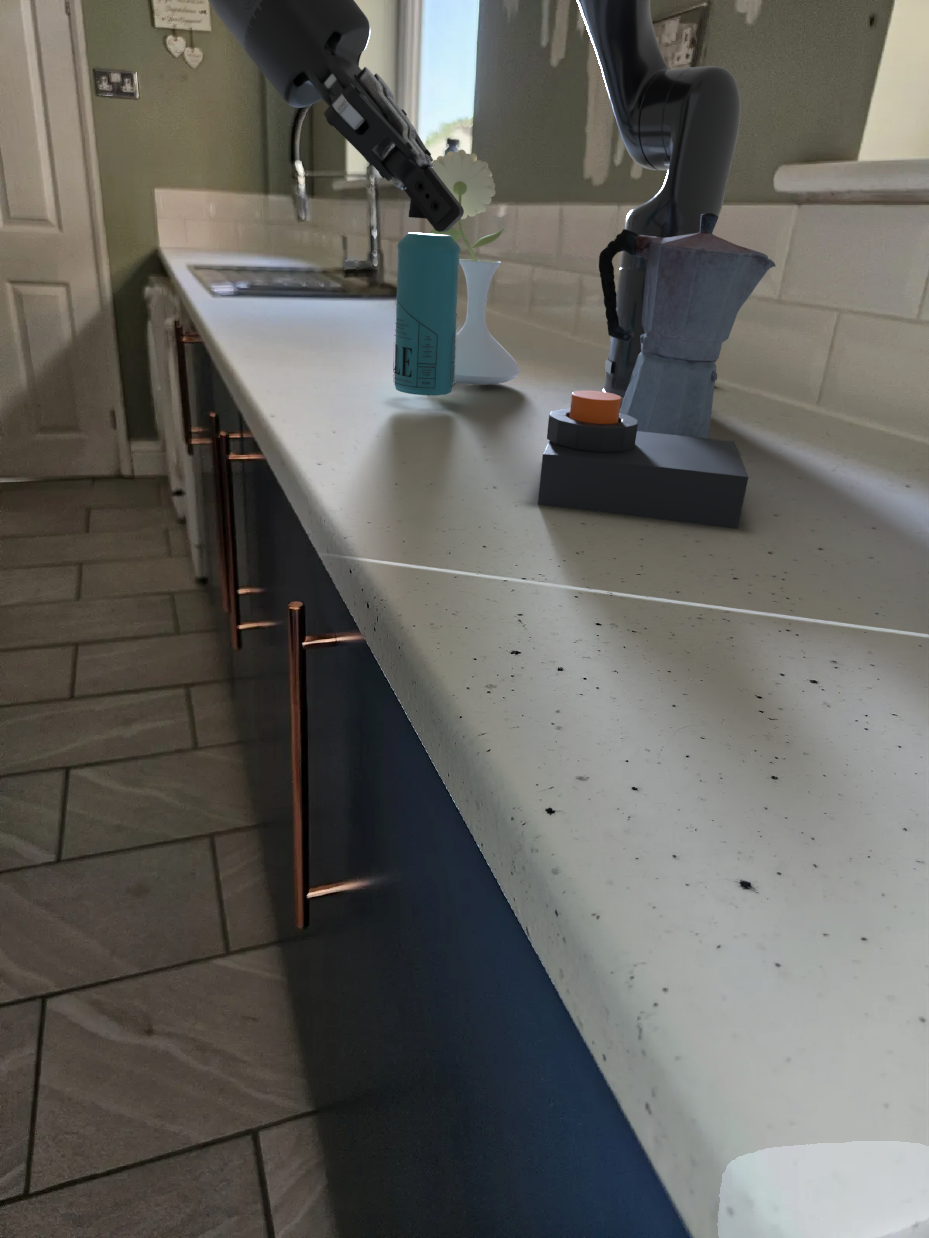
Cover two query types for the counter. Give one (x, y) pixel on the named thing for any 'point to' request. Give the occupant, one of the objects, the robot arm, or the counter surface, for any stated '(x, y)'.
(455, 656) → the counter surface
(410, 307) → the beverage bottle
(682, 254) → the moka pot
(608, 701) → the counter surface
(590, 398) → the kettle switch
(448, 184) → the flower in vase
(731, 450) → the base
